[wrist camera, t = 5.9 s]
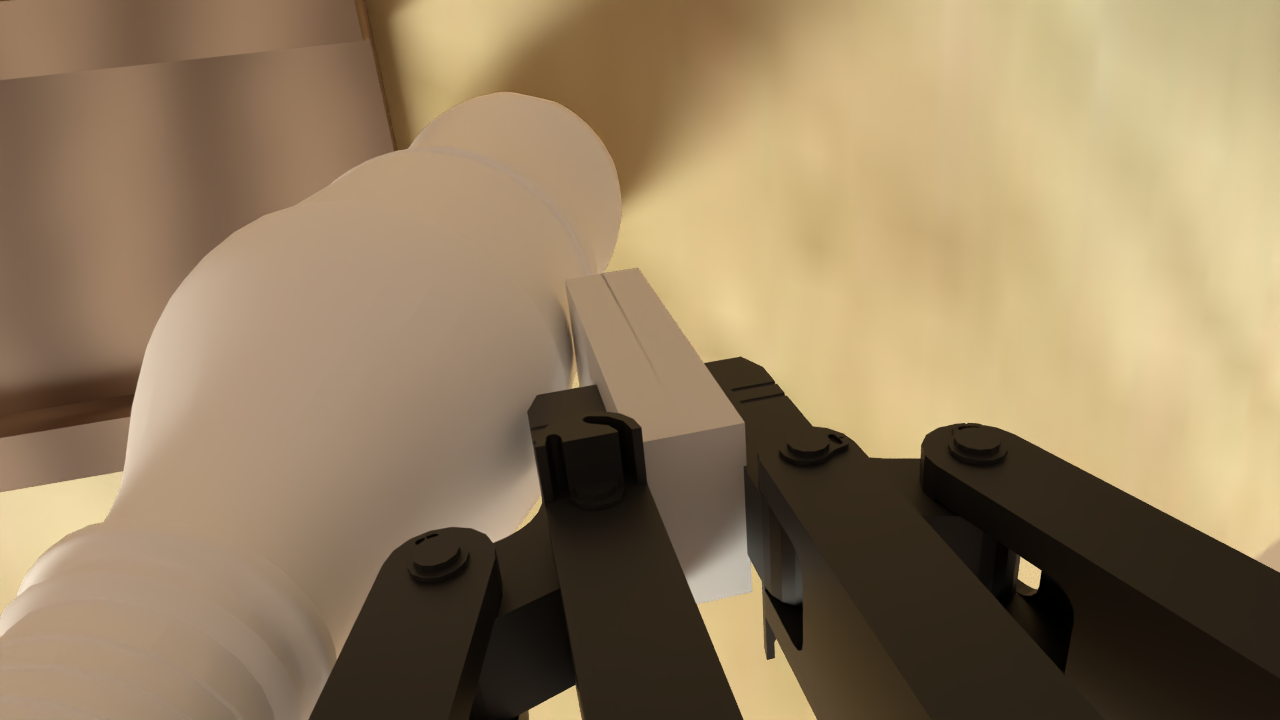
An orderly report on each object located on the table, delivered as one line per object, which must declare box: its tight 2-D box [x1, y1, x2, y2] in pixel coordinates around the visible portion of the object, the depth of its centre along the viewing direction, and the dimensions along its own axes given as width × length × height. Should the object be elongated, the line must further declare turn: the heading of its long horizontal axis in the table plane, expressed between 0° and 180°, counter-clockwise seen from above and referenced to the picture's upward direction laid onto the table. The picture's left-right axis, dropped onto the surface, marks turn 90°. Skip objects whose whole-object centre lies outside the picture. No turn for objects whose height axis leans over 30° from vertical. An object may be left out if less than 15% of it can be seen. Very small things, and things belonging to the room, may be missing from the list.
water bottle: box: [0, 92, 622, 720], centre depth 19 cm, size 7×7×25 cm
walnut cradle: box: [0, 0, 397, 492], centre depth 27 cm, size 24×15×3 cm, turn 95°
